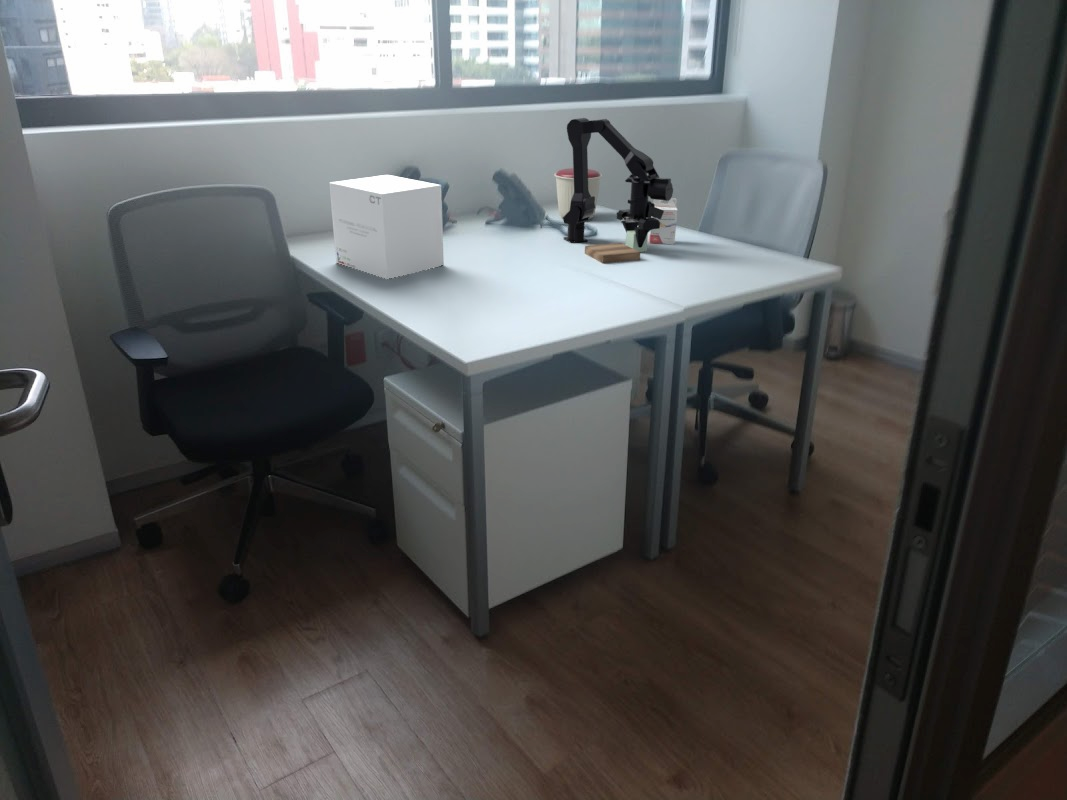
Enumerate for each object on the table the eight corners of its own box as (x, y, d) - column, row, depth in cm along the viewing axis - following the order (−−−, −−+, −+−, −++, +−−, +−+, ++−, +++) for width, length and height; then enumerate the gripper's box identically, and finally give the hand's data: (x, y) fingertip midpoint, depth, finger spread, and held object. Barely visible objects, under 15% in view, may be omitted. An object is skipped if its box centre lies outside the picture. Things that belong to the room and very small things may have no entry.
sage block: (625, 249, 267) (626, 230, 265) (638, 247, 269) (640, 229, 267) (632, 252, 263) (634, 234, 261) (646, 251, 265) (647, 233, 263)
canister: (586, 225, 300) (589, 166, 291) (544, 219, 308) (545, 162, 299) (608, 217, 314) (611, 161, 305) (567, 211, 322) (568, 157, 314)
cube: (336, 264, 246) (329, 182, 236) (392, 252, 260) (387, 174, 250) (387, 281, 231) (381, 194, 221) (443, 267, 245) (441, 185, 235)
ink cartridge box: (649, 243, 275) (652, 199, 269) (648, 240, 280) (652, 197, 274) (674, 244, 274) (678, 200, 268) (673, 241, 279) (677, 197, 273)
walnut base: (584, 255, 261) (585, 245, 260) (620, 251, 266) (620, 242, 265) (602, 265, 250) (603, 255, 249) (639, 261, 255) (640, 252, 254)
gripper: (676, 201, 254) (672, 250, 261) (646, 191, 270) (643, 237, 276) (645, 203, 250) (642, 252, 257) (617, 192, 266) (614, 240, 272)
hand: (636, 245), depth 266 cm, fingers closed on sage block, 5 cm apart
